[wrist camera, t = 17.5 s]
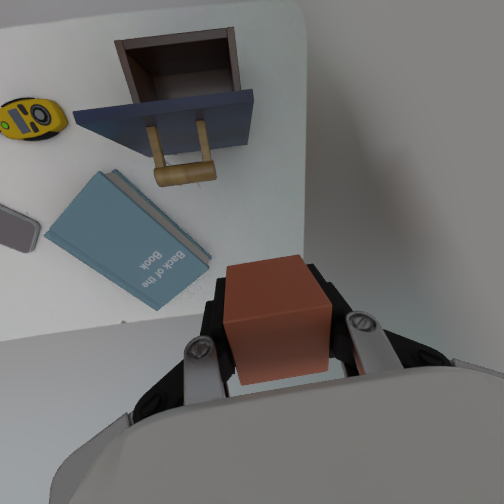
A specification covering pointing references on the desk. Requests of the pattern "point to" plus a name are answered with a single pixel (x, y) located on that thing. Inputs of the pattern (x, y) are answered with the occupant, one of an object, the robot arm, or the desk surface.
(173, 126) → the navy box cover
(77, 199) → the book
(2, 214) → the smartphone
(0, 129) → the yellow plastic handheld
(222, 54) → the chest
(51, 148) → the desk surface
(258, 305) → the block
